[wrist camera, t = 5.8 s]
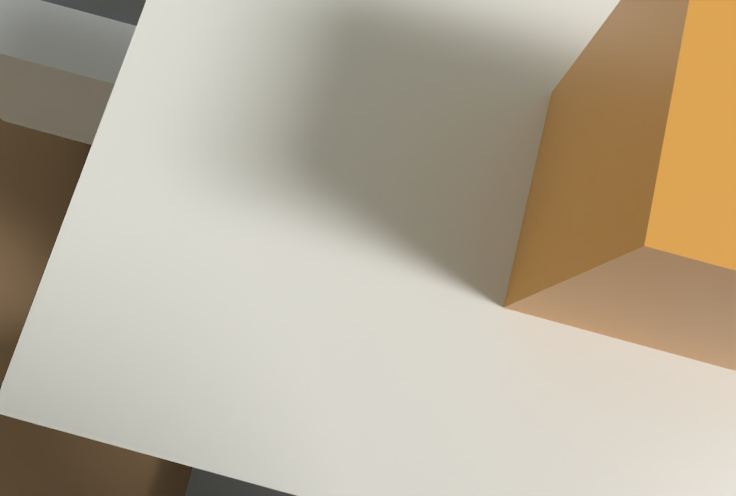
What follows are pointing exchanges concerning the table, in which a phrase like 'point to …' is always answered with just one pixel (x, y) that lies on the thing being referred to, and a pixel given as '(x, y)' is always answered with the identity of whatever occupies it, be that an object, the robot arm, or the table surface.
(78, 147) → the table surface
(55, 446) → the table surface
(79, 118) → the grey block
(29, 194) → the table surface
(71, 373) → the block
